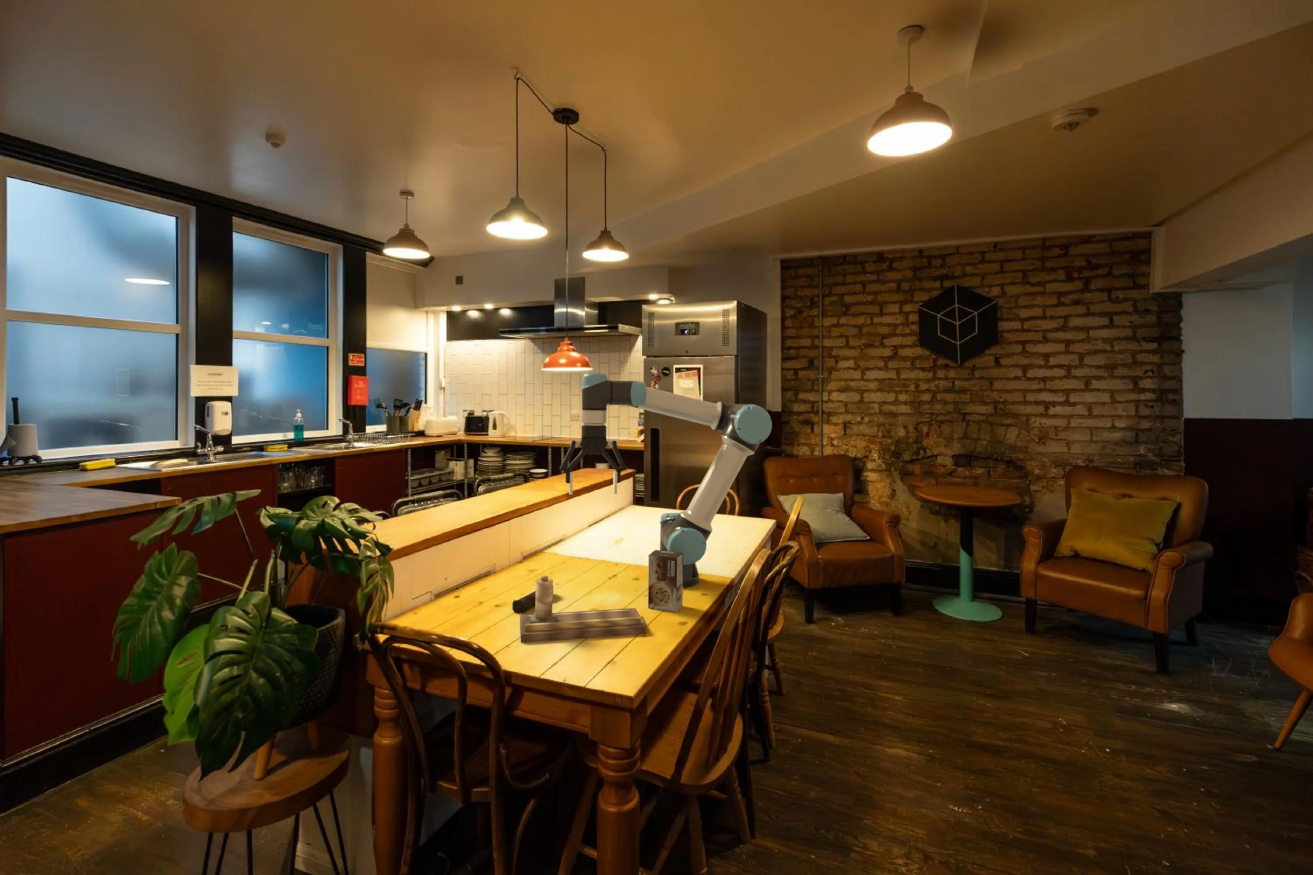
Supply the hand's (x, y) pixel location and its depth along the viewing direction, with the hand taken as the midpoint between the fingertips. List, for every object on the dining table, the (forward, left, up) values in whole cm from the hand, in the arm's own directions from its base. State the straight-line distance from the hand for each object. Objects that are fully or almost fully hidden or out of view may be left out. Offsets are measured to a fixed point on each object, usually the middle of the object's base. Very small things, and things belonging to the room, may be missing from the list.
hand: (593, 493), depth 189 cm
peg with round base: (+16, +25, -30) cm, 42 cm away
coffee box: (-20, +14, -32) cm, 40 cm away
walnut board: (+6, +26, -32) cm, 41 cm away
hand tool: (+18, +4, -32) cm, 37 cm away
